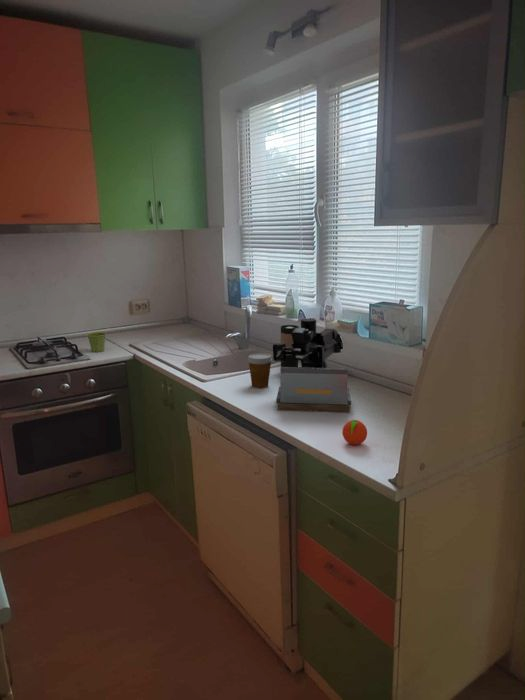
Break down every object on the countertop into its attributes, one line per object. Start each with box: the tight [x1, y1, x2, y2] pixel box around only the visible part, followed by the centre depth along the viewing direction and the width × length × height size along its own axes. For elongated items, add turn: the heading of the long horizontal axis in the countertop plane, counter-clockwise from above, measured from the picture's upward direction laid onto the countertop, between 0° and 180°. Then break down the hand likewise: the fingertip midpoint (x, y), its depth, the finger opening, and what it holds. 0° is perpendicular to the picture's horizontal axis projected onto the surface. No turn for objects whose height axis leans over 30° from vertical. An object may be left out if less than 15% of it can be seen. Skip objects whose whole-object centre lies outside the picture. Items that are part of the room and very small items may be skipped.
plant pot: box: [86, 331, 107, 353], centre depth 260 cm, size 9×9×9 cm
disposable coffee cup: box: [247, 353, 273, 389], centre depth 200 cm, size 10×10×12 cm
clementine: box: [341, 419, 368, 446], centre depth 145 cm, size 8×7×7 cm
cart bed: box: [275, 386, 352, 413], centre depth 179 cm, size 14×25×4 cm, turn 84°
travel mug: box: [280, 324, 300, 368], centre depth 217 cm, size 8×8×20 cm
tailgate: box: [279, 366, 349, 404], centre depth 172 cm, size 2×22×12 cm, turn 84°
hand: (289, 359), depth 175 cm, fingers open, 9 cm apart
